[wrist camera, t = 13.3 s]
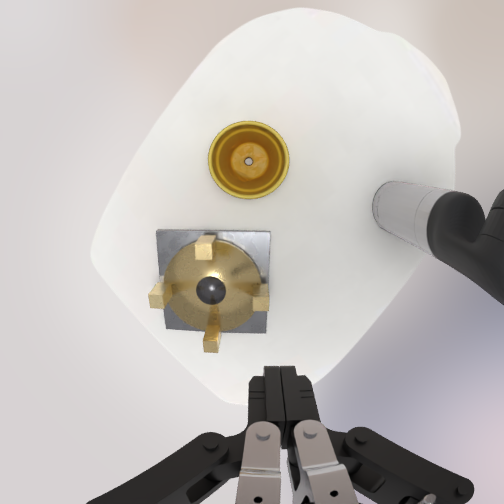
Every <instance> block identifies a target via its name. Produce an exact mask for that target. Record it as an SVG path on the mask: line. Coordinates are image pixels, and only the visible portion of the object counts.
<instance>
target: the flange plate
mask: <svg viewBox="0 0 504 504" xmlns="http://www.w3.org/2000/svg"><path fill="white" fill-rule="evenodd" d="M201 235H216V239H217V240H222V241H226V242H229V243H231V244H233V245H235V246H237V247H239V248H240V249H242V250H243V251H244V252H245V253H247V255H248V256H249V257H250V258H251V259H252V260H253V262H254V263H255V265H256V267H257V269H258V272H259V274H260V279H261V284H268V278H269V255H270V231H230V230H157V231H156V237H157V251H158V263H159V274H160V276H159V277H160V282H163V283H164V275H165V271H166V269H167V266H168V264H169V262H170V261H171V259H172V258H173V257H174V256H175V255H176V253H177V252H178V251H180V250H181V249H182V248H183V247H185V246H186V245H188V244H190V243H193V242H195V241H197V240H198V239H199V237H200V236H201ZM163 310H164V317H165V324H166V329H175V330H189V331H204V330H200V329H197V328H195V327H192V326H190V325H189V324H187V323H185V322H184V321H183V320H181V319H180V318H179V317H178V316H177V315H176V314H175V313H174V311H173V310H172V309H171V307H170V305H169V303H167V305H166V307H165V308H164V309H163ZM266 320H267V311H255V312H254V314H253V315H252V316H251V317H250V318H249V319H248V320H247V321H246V322H245V323H243V324H242V325H240V326H238V327H236V328H234V329H231V330H227V331H222V332H227V333H266Z"/></svg>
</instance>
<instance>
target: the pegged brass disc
mask: <svg viewBox="0 0 504 504" xmlns="http://www.w3.org/2000/svg"><path fill="white" fill-rule="evenodd" d="M148 297H149V303H150V308H158V309H164V308H165V307H166V305H167V303H169V305H170V307H171V309H172V310H173V311H174V313H175V314H176V315H177V316H178V317H179V318H180V319H181V320H183V321H184V322H185V323H187V324H189V325H190V326H192V327H195V328H197V329H200V330H204V331H205V335H204V338H203V347H204V352H210V353H218V351H219V345H220V340H221V332H222V331H227V330H231V329H234V328H236V327H238V326H240V325H242V324H243V323H245V322H246V321H247V320H248V319H249V318H250V317H251V316H252V315H253V314H254V312H255V311H269V291H268V284H261V279H260V274H259V272H258V269H257V267H256V265H255V263H254V262H253V260H252V259H251V258H250V257H249V256H248V255H247V253H245V252H244V251H243V250H242V249H240V248H239V247H237V246H235V245H233V244H231V243H229V242H226V241H222V240H217V239H216V235H201V236H200V237H199V239H198V240H197V241H195V242H193V243H190V244H188V245H186V246H185V247H183V248H182V249H181V250H180V251H178V252H177V253H176V255H175V256H174V257H173V258H172V259H171V261H170V262H169V264H168V266H167V269H166V271H165V275H164V283H163V282H158V283H157V284H156V285H155V286H154V288H153V289H152V290H151V292H150V293H149V294H148Z"/></svg>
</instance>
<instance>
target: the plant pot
mask: <svg viewBox="0 0 504 504" xmlns="http://www.w3.org/2000/svg"><path fill="white" fill-rule="evenodd" d="M246 158H251V159H252V160H253V163H252V164H251V165H246V164H245V159H246ZM208 166H209V170H210V173H211V176H212V178H213V179H214V181H215V182H216V184H217V185H218V186H219V187H220V188H221V189H222V190H223V191H225V192H226V193H228V194H230V195H232V196H234V197H238V198H242V199H256V198H260V197H263V196H266V195H268V194H270V193H271V192H273V191H274V190H275V189H277V188H278V187H279V186H280V184H281V183H282V182H283V180H284V179H285V177H286V174H287V172H288V168H289V152H288V149H287V146H286V144H285V142H284V140H283V138H282V137H281V136H280V135H279V134H278V132H276V131H275V130H274V129H273V128H271V127H270V126H268V125H266V124H263V123H260V122H256V121H241V122H237V123H234V124H231V125H229V126H227V127H226V128H224V129H223V130H222V131H221V132H220V133H219V134H218V135H217V136H216V137H215V139H214V140H213V142H212V144H211V147H210V149H209V154H208Z"/></svg>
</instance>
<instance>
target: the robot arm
mask: <svg viewBox="0 0 504 504" xmlns="http://www.w3.org/2000/svg"><path fill="white" fill-rule="evenodd" d="M373 214H374V217H375V220H376V222H377V223H378V225H379V226H380V227H381V228H383V229H385V230H386V231H388V232H390V233H392V234H394V235H395V236H397V237H399V238H401V239H403V240H405V241H407V242H408V243H410V244H412V245H414V246H416V247H418V248H419V249H421V250H423V251H425V252H427V253H428V254H430V255H432V256H434V257H435V258H437V259H439V260H440V261H442V262H444V263H446V264H447V265H449V266H451V267H452V268H454V269H455V270H457V271H458V272H460V273H462V274H463V275H465V276H466V277H468V278H469V279H471V280H472V281H473V282H475V283H476V284H477V285H479V286H480V287H481V288H482V289H484V290H485V291H486V292H487V293H489V294H490V295H491V296H492V297H494V298H495V299H496V300H497V301H499V302H500V303H501V304H503V305H504V190H502V191H501V192H500V193H499V194H498V196H497V197H496V199H495V201H494V203H493V205H492V207H491V210H490V212H489V214H488V217H487V219H486V220H485V215H484V212H483V209H482V207H481V205H480V204H479V202H478V201H477V200H476V199H475V198H474V197H472V196H470V195H469V194H466V193H461V192H457V191H452V190H446V189H440V188H435V187H429V186H423V185H417V184H410V183H404V182H396V181H393V182H388V183H386V184H384V185H383V186H381V188H380V189H379V190H378V191H377V193H376V195H375V197H374V201H373ZM280 447H281V448H282V449H287V451H288V458H287V467H288V472H289V477H290V482H291V487H292V492H293V504H361V503H358V500H357V497H356V494H355V491H354V489H355V490H356V491H358V492H359V493H361V494H363V495H364V496H366V497H368V498H369V499H371V500H372V501H374V502H376V503H377V504H465V503H467V502H468V501H469V500H470V499H471V498H472V496H473V494H474V485H473V483H472V482H471V481H470V480H469V479H467V478H464V477H462V476H459V475H457V474H455V473H453V472H451V471H449V470H446V469H444V468H442V467H440V466H438V465H436V464H434V463H432V462H430V461H428V460H426V459H424V458H422V457H420V456H418V455H416V454H414V453H412V452H410V451H408V450H406V449H404V448H403V447H401V446H399V445H397V444H395V443H393V442H392V441H390V440H388V439H386V438H384V437H382V436H381V435H379V434H378V433H376V432H374V431H372V430H370V429H369V428H366V427H355V428H353V429H351V430H349V431H348V433H344V432H336V431H332V430H330V429H327V428H326V427H325V426H324V425H323V424H322V423H321V421H320V418H319V414H318V409H317V405H316V401H315V398H314V392H313V388H312V384H311V381H310V380H309V379H308V378H307V377H306V376H305V375H301V376H297V374H296V369H295V366H280V367H279V366H264V373H263V376H253V377H252V379H251V381H250V382H249V399H248V425H247V427H246V428H245V430H244V431H242V432H241V433H239V434H237V435H234V436H229V437H224V436H223V435H221V434H218V433H214V432H207V433H204V434H201V435H199V436H198V437H196V438H195V439H194V440H192V441H191V442H189V443H188V444H186V445H185V446H183V447H182V448H181V449H179V450H177V451H176V452H175V453H173V454H172V455H170V456H168V457H167V458H165V459H164V460H162V461H161V462H159V463H158V464H156V465H155V466H153V467H151V468H150V469H148V470H146V471H144V472H143V473H141V474H140V475H138V476H136V477H134V478H133V479H131V480H129V481H127V482H126V483H124V484H122V485H120V486H118V487H117V488H114V489H113V490H111V491H109V492H107V493H105V494H103V495H101V496H99V497H97V498H95V499H93V500H91V501H89V502H87V503H86V504H200V503H201V502H202V501H203V500H205V499H206V498H207V497H209V496H210V495H211V494H212V493H213V492H215V491H216V490H217V489H219V488H220V487H221V486H222V485H224V484H225V483H226V482H227V481H228V480H229V479H230V478H235V477H239V481H238V489H237V496H236V503H235V504H280V490H281V489H280V488H281V472H280Z"/></svg>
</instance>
